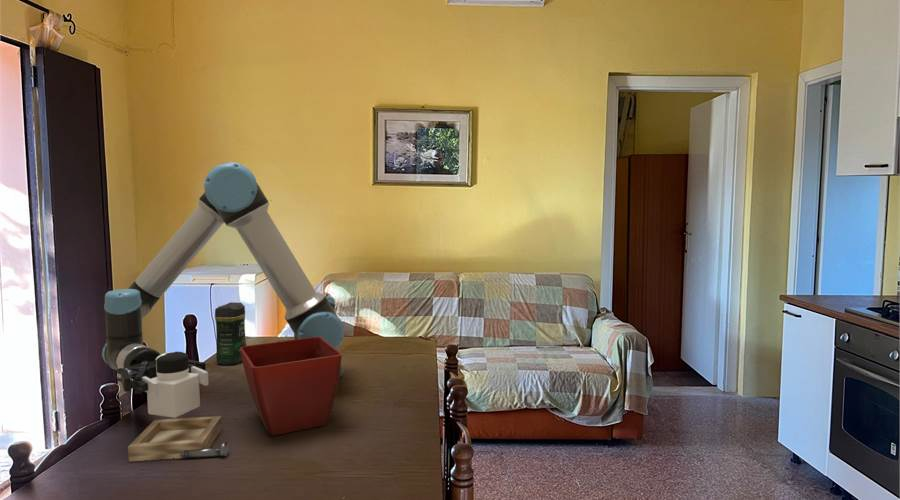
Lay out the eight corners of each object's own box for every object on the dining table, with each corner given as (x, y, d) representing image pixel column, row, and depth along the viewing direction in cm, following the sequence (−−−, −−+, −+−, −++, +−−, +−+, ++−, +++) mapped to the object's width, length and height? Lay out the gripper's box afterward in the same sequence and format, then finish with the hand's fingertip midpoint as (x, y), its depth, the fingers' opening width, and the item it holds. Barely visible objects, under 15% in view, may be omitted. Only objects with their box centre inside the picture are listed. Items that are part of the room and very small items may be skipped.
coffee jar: (237, 366, 178) (234, 306, 177) (212, 365, 179) (209, 306, 177) (251, 357, 188) (248, 300, 186) (227, 357, 189) (224, 300, 187)
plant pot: (255, 446, 120) (252, 366, 119) (242, 415, 137) (239, 345, 136) (345, 428, 129) (343, 354, 128) (322, 402, 146) (320, 336, 145)
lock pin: (228, 452, 118) (227, 440, 117) (225, 458, 115) (224, 445, 115) (182, 455, 116) (182, 442, 116) (178, 461, 114) (177, 448, 114)
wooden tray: (221, 429, 130) (221, 416, 129) (203, 456, 116) (202, 442, 115) (155, 433, 128) (154, 419, 128) (128, 461, 114) (127, 446, 114)
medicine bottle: (200, 406, 123) (198, 350, 122) (174, 418, 116) (172, 359, 115) (174, 402, 125) (171, 348, 124) (147, 414, 119) (144, 356, 118)
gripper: (189, 368, 141) (234, 389, 126) (87, 390, 125) (124, 417, 110) (188, 338, 140) (233, 355, 125) (85, 356, 124) (122, 378, 109)
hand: (182, 384), depth 117 cm, fingers closed on medicine bottle, 9 cm apart
